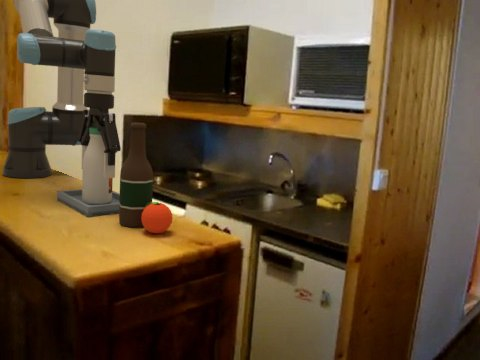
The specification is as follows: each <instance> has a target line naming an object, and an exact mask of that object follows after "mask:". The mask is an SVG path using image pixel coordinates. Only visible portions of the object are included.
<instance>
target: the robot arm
mask: <svg viewBox="0 0 480 360" xmlns="http://www.w3.org/2000/svg"><path fill="white" fill-rule="evenodd" d="M13 5H14V8H15V10H16V12H17V14H18V15H19V19H20V24H21V30H22V32H20V33H18V35H17V39H16V52H17V53H16V54H17V60H18V61H19V62H20V63H23V64H28V65H33V66H46V67H47V66H49V67H57V97H56V102H55V103H54V104H53V105H52V108H51V109H52V111H48V110H47V109H46V107H44V106H29V107H19V108H18V107H17V108H12V109H10V110H9V111H8V115H7V122H6V123H7V126H8V127H7V128H8V129H7V132H8V133H7V134H8V136H7V137H8V138H7V139H8V141H7V143H8V148H7V149H8V151H7V156H6V159H5V161H4V164H3V167H2V175H3V176H5V177H6V178H7V177H8V178H14V179H15V178H16V179H37V178H45V177H50V176H51V175H52V166H51V165H50V162H49V161H50V160H49V159H48V156H47V152H46V146H49V145H50V146H56V145H57V146H72V147H74V146H81V170H83V157H84V153H85V151H86V149H87V147H88V145H89V142H90V136H89V135H90V133H89V129H90V128H91V127H94V128H97V130H98V131H100V134H101V137H102V140H103V143H104V146H105V151H104V178H113V179H115V178H116V153H117V152H121V149H122V148H121V142H120V139H119V133H118V128H117V123H116V114H115V112H113V113H112V112H109V110H111V109H114V108H115V95H114V94H113V93H115V84H116V81H115V79H116V78H115V74H116V73H115V72H116V49H117V43H116V35H115V33H113V32H111V31H108V30H104V29H103V30H102V29H101V30H100V29H91V25H95V23H96V22H97V21H96V20H97V5H96V0H13ZM50 19H53V26H54V27H56V29H57V31H58V37H57V36H54V33H53V29H52V25H51V21H50ZM85 91H86V92H85ZM88 108H89V109H88Z"/></svg>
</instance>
